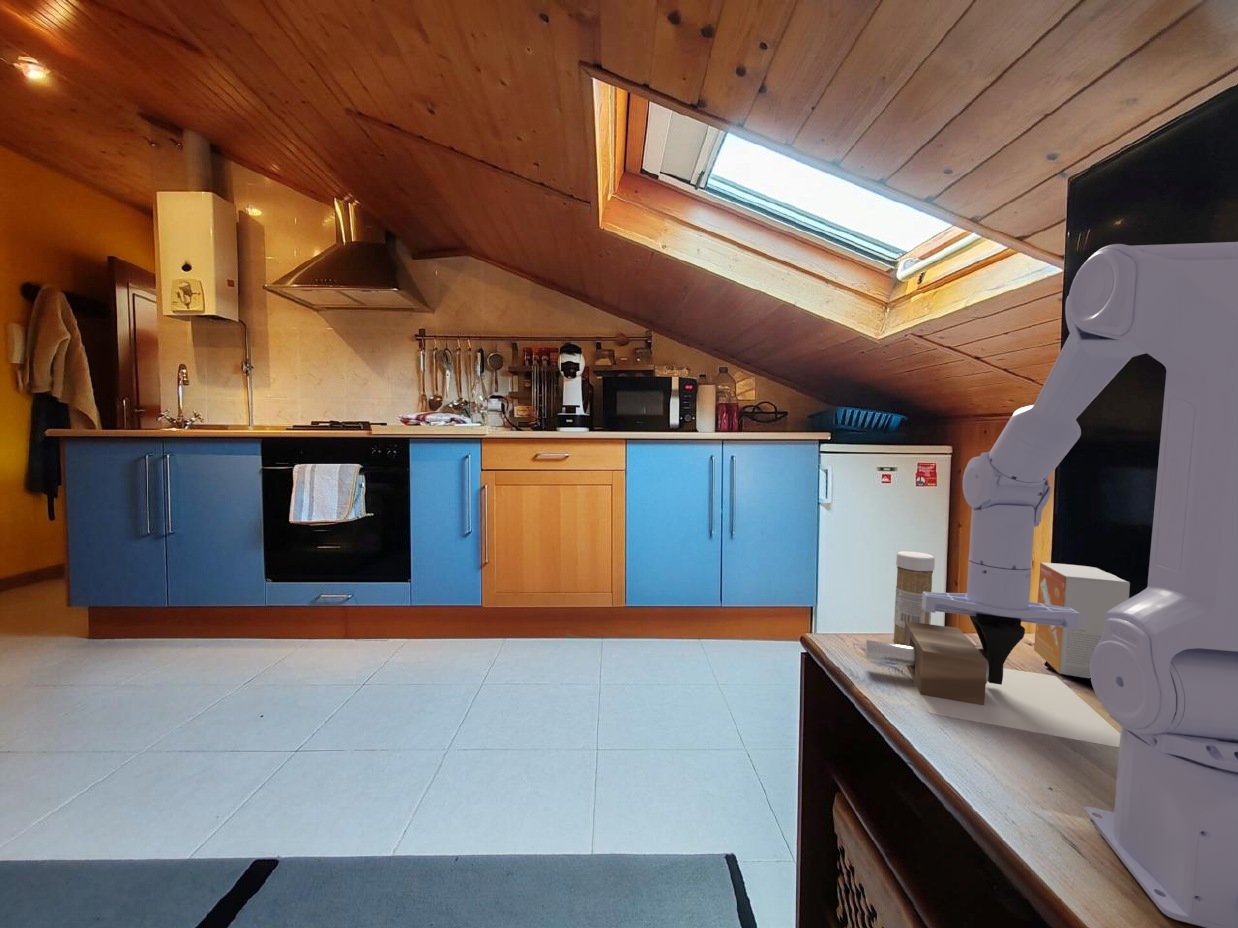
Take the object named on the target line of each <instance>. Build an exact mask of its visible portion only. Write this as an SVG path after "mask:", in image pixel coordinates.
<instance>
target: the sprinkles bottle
mask: <svg viewBox="0 0 1238 928" xmlns="http://www.w3.org/2000/svg"><path fill="white" fill-rule="evenodd" d="M895 564H896V569H897V572H896V573H897V574H896V585H895V597H894V598H895V599H894V618H893V619H894V620H893V622H894V626H893V627H894V629H893V639H892V643H893V644H899V645H904V630H905V621H908V622H916V623H923V624H931V622H932V621H931V619H932V612H926V611H925V610H924V609H923V607H922V594H923V591H924V592H933V591H932V590H933V573H934V570H935V556H933V555H931V554H929V553H925V552H919V551H910V550H909V551H907V550H905V551H904V550H903V551H899V552H897V553H896V563H895Z"/></svg>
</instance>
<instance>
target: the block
mask: <svg viewBox="0 0 1238 928" xmlns="http://www.w3.org/2000/svg"><path fill="white" fill-rule="evenodd" d="M904 645H906V646H913V647H916V662H915V666H912V665H905V666H907V667H906V668H908V669H907V671H908V670H909V671H908V673H909V672H910V673H909V674H911V675H910V676H912V677H911V679H912V678H913V679H912V681H913V680H914V681H913V683H914V682H915V683H914V684H916V685H915V687H916V686H917V687H916V689H917V688H918V689H917V691H918V690H919V691H918V693H919V692H920V693H919V695H920V694H921V695H925V696H931V697H937V698H943V699H949V700H954V701H960V702H966V703H972V704H978V705H983V706H984V701H985V686H986V671H987V659H986V658H985V657H984V656H983V655H982V654H981V653H980V652H979V650H978V649H977V648H978V647H976V646H975V645H974V643H973V642H972V641H971V640H970V639H969V638H968V637H967V636H966V634H965V633H964V632H963V631H962V630H961V628H959V627H952V626H945V625H937V624H931V623H930V624H923V623H916V622H908V621H905V630H904ZM921 695H920V696H921Z"/></svg>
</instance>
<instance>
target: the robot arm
mask: <svg viewBox="0 0 1238 928" xmlns="http://www.w3.org/2000/svg"><path fill="white" fill-rule="evenodd" d="M1064 308H1065V309H1064V310H1065V312H1064V313H1065V321H1066V325H1067V329H1068V332H1069V334H1068V337H1067V338H1066V340H1065V342H1064V344H1063V345H1062V346H1063V347H1062V348H1061V350H1060V352H1059V354H1058V357H1057V358H1056V359H1055V362H1054V364H1053V366H1052V367H1051V370H1050V372H1049V374H1048V375H1047V378H1046V380H1045V381H1044V384H1043V385H1042V388H1041V390H1040V392H1039V394H1038V396H1037V398H1036V400H1035V402H1034V403H1033V404H1031V405H1026V406H1023V407H1020V408H1017V409H1016V410H1015V411H1014V412H1013V414H1012V416H1011V417H1010V418H1009V420H1008V421H1007V423H1006V425H1005V427H1004V428H1003V429H1002V431H1001V433H1000V434H999V436H998V438H997V440H996V441H995V443H994V444H993V446H992V448H990V451H987V452H981V453H980V455H979V456H974V457H972V458H971V459H969V461H968V462H967V464H966V466H965V469H964V473H963V476H962V493H963V497H964V499H965V502H966V503H967V504H968V506H969V507H971V516H970V517H971V519H970V535H969V549H968V550H969V552H968V568H967V581H966V582H967V584H966V593H965V592H964V593H963V592H961V593H959V592H933V591H932V592H924V591H923V594H922V607H923V609H924V610H925V611H926V612H931V614H932V613H934V614H935V613H936V612H939V613H947V614H955V615H965V616H969V618H970V619H969V620H970V621H971V623H972V625H973V626H974V630H975V631H976V634H977V636H978V639H979V642H980V643H981V644H980V645H981V647H982V649H984V651H985V652H986V655H987V658H988V664H989V677H988V682H989V683H993V684H1000V685H1002V680H1003V668H1004V665H1005V662H1006V660H1007V659H1008V657H1009V655H1010V654H1011V652H1012V650H1013V649H1015V647H1017V645H1018V644H1019V643H1020V642H1021V641H1022V640H1023V639H1024V638H1025V633H1026V628H1025V627H1024V626H1023V625H1022V623H1030V624H1035V625H1036V624H1044V625H1052V626H1061V627H1065V628H1066V629H1071V630H1079V618H1080V613H1078V612H1077V611H1075V610H1073V609H1072V608H1068V607H1060V606H1053V605H1047V604H1042V603H1037V602H1035V601H1030V597H1031V596H1030V594H1031V593H1030V592H1031V579H1032V577H1031V576H1032V564H1033V563H1032V562H1033V550H1034V549H1033V547H1034V532H1035V528H1037V527H1039V525H1040V523H1041V522H1042V513H1043V509H1044V507H1046V505H1047V503H1048V501H1049V499H1050V497H1051V491H1052V487H1051V486H1050V480H1049V478H1050V476H1051V475H1052V474H1053V473H1054V471H1055V470H1056V468H1057V467H1058V466H1059V465H1060V463H1062V461H1063V460H1064V458H1065V456H1067V454H1068V453H1069V452H1070V450H1071V449H1072V448H1073V447H1074V445H1075V444H1076V443H1077V442H1078V440H1079V439H1080V437H1081V435H1082V429H1081V427H1080V426H1081V425H1079V423H1078V421H1077V419H1078V417H1079V416H1080V415H1081V414H1082V413H1083V412H1084V411H1085V410H1086V409H1087V407H1088V406H1089V405H1090V404H1091V403H1092V401H1094V399H1096V398H1097V396H1098V395H1099V394H1100V393H1101V392H1102V391H1103V390H1104V389H1105V387H1106V386H1108V384H1110V382H1111V381H1112V380H1113V379H1114V378H1115V377H1116V376H1117V374H1118V373H1119V372H1120V371H1121V370H1122V369H1123V368H1124V367H1125V365H1126V364H1128V362H1129V361H1131V359H1132V358H1134V357H1138V356H1140V355H1141V356H1142V355H1144V354H1147V355H1148V356H1150V357H1152V358H1153V359H1154V360H1156V361H1158V362H1159V363H1161V364H1162V365H1163V366H1164V367H1165V370H1166V372H1165V383H1164V384H1165V385H1164V393H1163V394H1164V395H1163V407H1162V417H1161V418H1162V419H1161V430H1160V442H1159V451H1158V452H1159V453H1158V464H1157V465H1158V466H1157V472H1156V473H1157V475H1156V487H1155V499H1154V508H1153V509H1154V511H1153V519H1152V520H1153V521H1152V530H1151V531H1152V532H1151V542H1150V552H1149V553H1150V554H1149V564H1148V565H1149V566H1148V576H1147V587H1146V588H1145V589H1143V590H1142V591H1140V592H1139V593H1137V594H1135V595H1133V596H1131V597H1129V599H1128V600H1126V601H1124V602H1122V603H1120V604H1119V605H1117V606H1116V607H1114V608H1112V609H1111V610H1109V611H1108V612H1107V613H1106V619H1105V628H1104V632H1103V635H1102V638H1101V640H1100V641H1099V643H1098V644H1097V646H1096V648H1095V650H1094V652H1093V654H1092V657H1091V661H1090V678H1091V679H1090V678H1089V679H1090V681H1091V685H1092V688H1093V691H1094V693H1095V696H1096V698H1097V700H1098V701H1099V703H1100V704H1101V706H1102V707H1103V708H1104V709H1105V711H1106V712H1107V713H1108V715H1109V717H1110V718H1111V719H1112V720H1113V721H1115V722H1116V723H1117V724H1118V725H1120V732H1119V733H1120V744H1119V748H1118V758H1117V761H1118V762H1117V771H1116V774H1117V775H1116V783H1115V797H1114V809H1113V811H1111V810H1107V809H1103V808H1102V809H1101V808H1097V807H1092V806H1085V807H1084V810H1085V811H1086V812H1087V814H1088V815H1089V817H1090V818H1089V821H1090V822H1091V823H1092V825H1093V826H1094V827H1095V828H1096V830H1097V831H1098V833H1099V834H1100V835H1101V836H1102V837H1103V838H1104V840H1105V841H1106V842H1107V844H1108V845H1109V847H1110V848H1111V849H1112V851H1113V852H1114V853H1115V854H1116V855H1117V856H1118V858H1119V859H1120V860H1121V862H1122V863H1123V864H1124V865H1125V867H1126V868H1127V869H1128V871H1129V872H1130V873H1131V874H1132V876H1133V877H1134V878H1135V880H1136V881H1137V883H1139V885H1140V886H1141V888H1143V890H1144V891H1145V893H1146V894H1147V895H1148V896H1149V898H1150V899H1151V900H1152V901H1153V903H1154V904H1155V905H1156V907H1157V908H1158V909H1159V911H1161V913H1163V915H1165V916H1167V917H1169V918H1171V919H1173V920H1176V921H1179V922H1183V923H1187V924H1191V925H1195V926H1199V927H1201V928H1238V241H1231V242H1230V241H1227V242H1224V241H1223V242H1201V243H1196V242H1195V243H1174V244H1173V243H1171V244H1170V243H1168V244H1145V245H1144V244H1142V245H1140V244H1139V245H1137V244H1136V245H1128V244H1125V243H1124V244H1123V243H1113V244H1109V245H1105V246H1103V247H1101V248H1100V249H1098V250H1097V251H1096V252H1094V253H1093V254H1091V255H1090V257H1088V259H1087V260H1086V261H1085V262H1084V263H1083V264H1082V265H1081V266H1080V268H1079V269H1078V270H1077V272H1076V275H1075V276H1074V278H1073V280H1072V282H1071V286H1070V289H1069V294H1068V296H1067V297H1066V299H1065V307H1064ZM1094 814H1095V815H1098V816H1100V817H1097V816H1095V815H1094Z"/></svg>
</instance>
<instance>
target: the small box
mask: <svg viewBox="0 0 1238 928" xmlns="http://www.w3.org/2000/svg"><path fill="white" fill-rule="evenodd" d="M1130 586H1131V582H1130V581H1127V580H1126V579H1122V578H1120V577H1118V576H1117V575H1114V574H1112V573H1110V572H1106V571H1105V570H1102V569H1100V568H1098V567H1093V566H1087V565H1079V564H1078V565H1077V564H1069V563H1068V564H1067V563H1053V562H1040V563H1039V579H1038V589H1037V590H1038V591H1037V594H1038V595H1037V602H1036V603H1042V604H1047V605H1053V606H1060V607H1068V608H1072V609H1073V610H1075V611H1077V612H1078V613H1080V618H1079V630H1071V629H1066V628H1065V627H1061V626H1052V625H1044V624H1036V623H1035V631H1034V633H1035V634H1034V647H1033V650H1034V652H1036V653H1037V654H1038V655H1040V657H1042V659H1044V660H1045V661H1046V662H1047V664H1049V665H1050V666H1051V668H1053V669H1054V670H1055V671H1056V672H1057V673H1058V674H1061V675H1065V676H1073V677H1077V678H1078V677H1079V678H1086V679H1090V661H1091V657H1092V654H1093V652H1094V650H1095V648H1096V646H1097V644H1098V643H1099V641H1100V640H1101V638H1102V635H1103V632H1104V628H1105V619H1106V613H1107V612H1108V611H1109V610H1111V609H1112V608H1114V607H1116V606H1117V605H1119V604H1120V603H1122V602H1124V601H1126V600H1128V599H1130V590H1131V589H1130V588H1131V587H1130Z"/></svg>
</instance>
